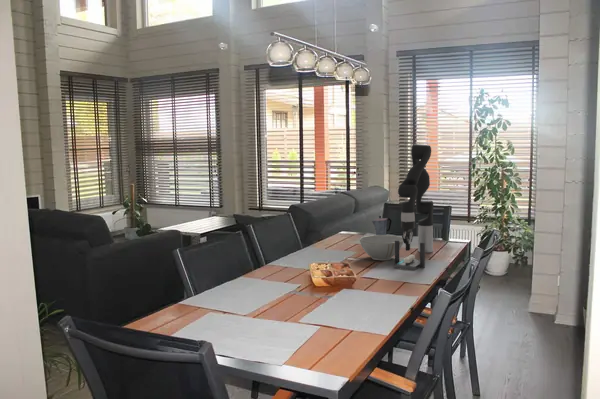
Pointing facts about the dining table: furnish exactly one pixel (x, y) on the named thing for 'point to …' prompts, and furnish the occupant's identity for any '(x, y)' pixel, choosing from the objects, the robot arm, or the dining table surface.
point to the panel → (408, 265)
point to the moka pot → (381, 225)
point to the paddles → (409, 258)
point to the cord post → (422, 255)
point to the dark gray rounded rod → (396, 252)
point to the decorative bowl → (380, 246)
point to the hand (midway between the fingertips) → (407, 250)
